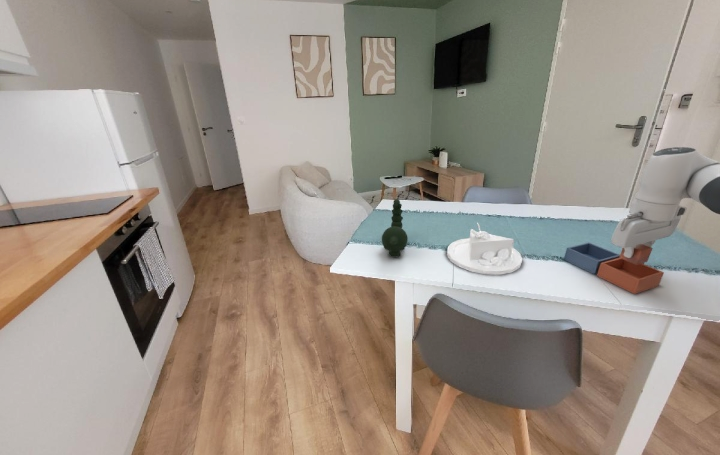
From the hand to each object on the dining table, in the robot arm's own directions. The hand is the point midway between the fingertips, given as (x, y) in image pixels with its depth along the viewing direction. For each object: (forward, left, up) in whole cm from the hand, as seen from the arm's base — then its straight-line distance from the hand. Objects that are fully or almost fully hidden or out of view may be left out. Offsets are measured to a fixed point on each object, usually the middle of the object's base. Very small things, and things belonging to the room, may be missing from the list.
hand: (635, 254), depth 84 cm
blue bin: (+11, 0, -9) cm, 14 cm away
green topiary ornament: (+47, +54, -9) cm, 72 cm away
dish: (+29, +28, -9) cm, 41 cm away
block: (0, 0, -2) cm, 2 cm away
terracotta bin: (0, 0, -9) cm, 9 cm away
